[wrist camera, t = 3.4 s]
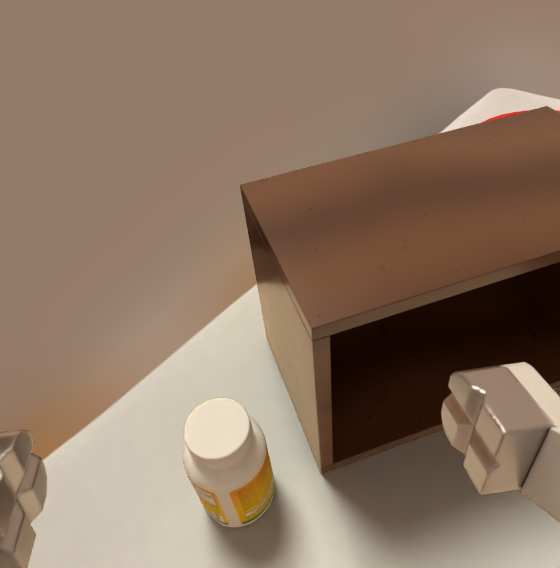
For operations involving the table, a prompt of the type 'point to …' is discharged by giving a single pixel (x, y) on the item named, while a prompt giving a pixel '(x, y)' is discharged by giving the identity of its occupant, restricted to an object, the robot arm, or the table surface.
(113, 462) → the table surface
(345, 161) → the cabinet
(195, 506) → the table surface
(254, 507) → the supplement bottle
